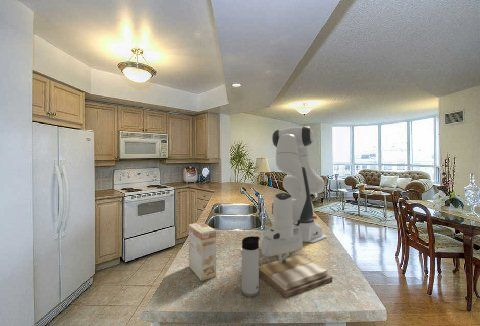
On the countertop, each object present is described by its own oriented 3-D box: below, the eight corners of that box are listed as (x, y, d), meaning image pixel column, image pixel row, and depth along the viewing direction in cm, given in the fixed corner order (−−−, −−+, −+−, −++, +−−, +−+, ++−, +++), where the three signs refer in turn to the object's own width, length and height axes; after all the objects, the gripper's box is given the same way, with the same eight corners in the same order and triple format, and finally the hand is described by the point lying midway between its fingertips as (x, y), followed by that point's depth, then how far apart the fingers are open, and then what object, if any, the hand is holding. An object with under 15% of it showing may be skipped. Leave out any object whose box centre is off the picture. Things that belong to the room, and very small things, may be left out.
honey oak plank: (299, 259, 106) (299, 254, 106) (311, 266, 99) (312, 262, 99) (260, 269, 96) (260, 265, 96) (271, 279, 89) (271, 274, 89)
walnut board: (297, 260, 109) (297, 257, 109) (332, 280, 91) (332, 276, 91) (255, 272, 97) (255, 269, 97) (285, 297, 80) (285, 293, 80)
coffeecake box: (217, 276, 94) (216, 230, 94) (200, 281, 90) (200, 233, 90) (202, 262, 107) (202, 221, 106) (188, 266, 103) (188, 223, 102)
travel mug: (262, 295, 81) (262, 239, 81) (244, 298, 79) (244, 241, 79) (256, 285, 87) (256, 234, 87) (239, 288, 85) (239, 236, 85)
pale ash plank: (312, 267, 99) (312, 262, 99) (327, 275, 92) (327, 270, 92) (271, 279, 89) (271, 274, 89) (284, 290, 82) (284, 284, 82)
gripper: (296, 225, 106) (296, 254, 107) (259, 232, 97) (259, 264, 97) (306, 229, 101) (305, 260, 101) (268, 236, 91) (267, 270, 92)
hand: (282, 262), depth 99 cm, fingers closed, pressing on honey oak plank
